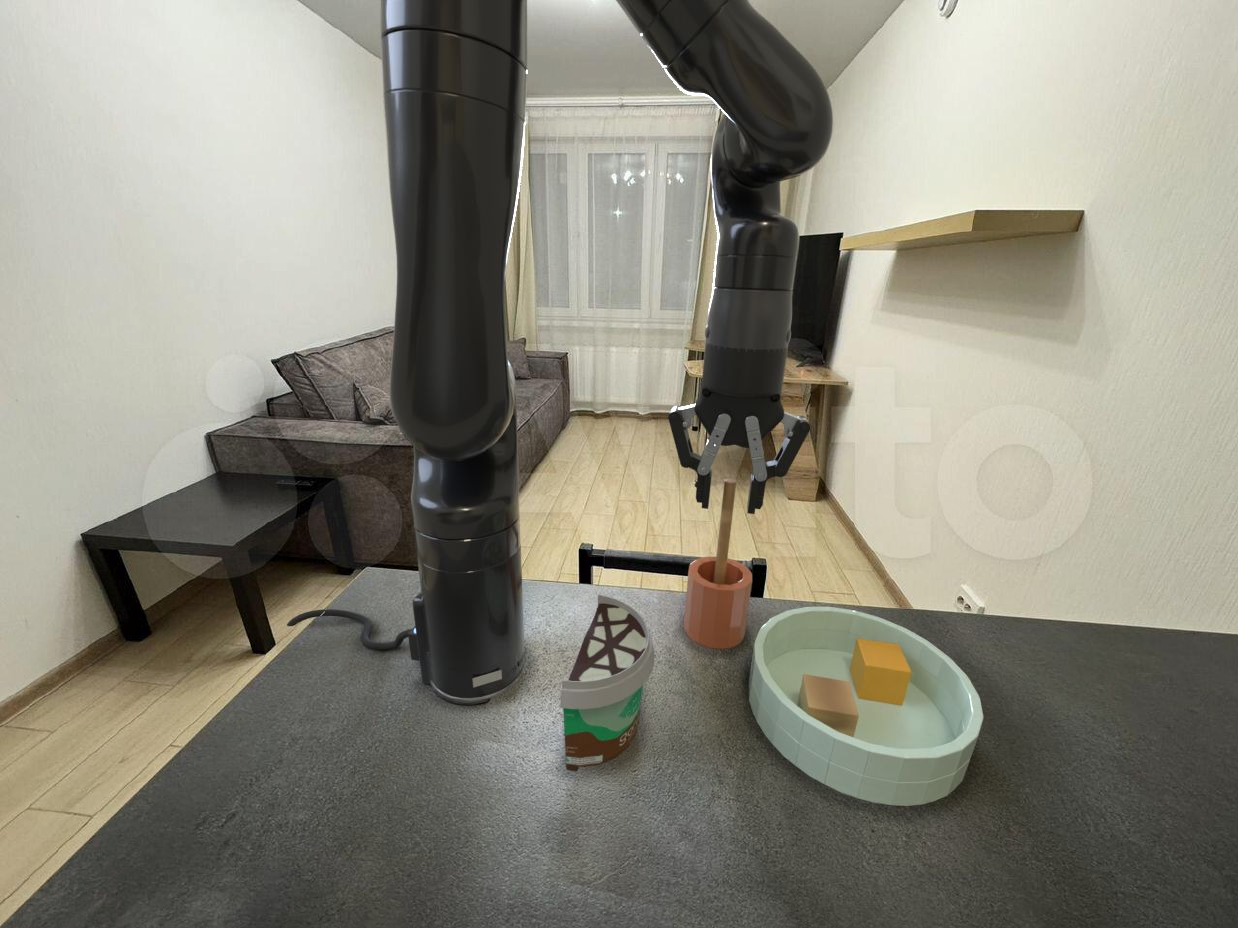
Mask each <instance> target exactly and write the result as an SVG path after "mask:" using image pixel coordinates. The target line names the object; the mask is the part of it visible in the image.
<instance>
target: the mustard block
mask: <svg viewBox="0 0 1238 928" xmlns="http://www.w3.org/2000/svg"><path fill="white" fill-rule="evenodd" d="M850 673H851V676H852V679H853V683H854V686H855V689H856V693H857V696H858V698H859V699H865V700H871V701H877V702H883V703H889V704H895V705H901V706H902V705H903V702H904V698H905V695H906V691H907V688H908V684H909V680H910V677H911V673H912V672H911V670H910V667H909V665H908V663H907V661H906V659H905V656H904V654H903V652H902V650H901V648H900V646H899V644H892V643H885V642H879V641H872V640H865V639H858V638H857V640H856V644H855V648H854V653H853V657H852V662H851V666H850Z"/></svg>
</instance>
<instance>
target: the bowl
mask: <svg viewBox="0 0 1238 928" xmlns="http://www.w3.org/2000/svg"><path fill="white" fill-rule="evenodd" d="M857 638H858V639H865V640H872V641H879V642H885V643H892V644H899V646H900V648H901V650H902V652H903V654H904V656H905V659H906V661H907V663H908V665H909V667H910V670H911V672H912V673H911V677H910V680H909V684H908V688H907V691H906V695H905V698H904V702H903V705H902V706H901V705H895V704H889V703H883V702H877V701H871V700H865V699H859V698H858V696H857V693H856V689H855V686H854V683H853V679H852V676H851V673H850V666H851V662H852V657H853V653H854V648H855V644H856V640H857ZM803 674H806V675H812V676H818V677H824V678H830V679H836V680H842V681H848V682H850V686H851V690H852V693H853V697H854V700H855V704H856V707H857V711H858V714H859V718H858V722H857V726H856V730H855V734H854V738H853V737H851V736H848V735H845V734H843V733H840V732H838V731H836V730H834V729H832V728H831V727H829V726H827V725H825V724H823V723H822V722H820V721H818V720H816V719H815V718H813V717H811V716H809V715H808V714H807V713H805V712H804V711H803V710H802V709H801V708H799V707H798V706H797V704H798V698H799V693H800V688H801V683H802V677H803ZM748 703H749V705H750V708H751V711H752V714H753V716H754V718H755V721H756V723H757V725H758V726H759V728H760V730H762V733H763V735H764V736H765V737H766V738H767V739H768V741H769V742H770V743H771V744H772V746H773V747H774V748H775V749H776V750H777V751H778V752H779V753H780V754H781V755H782V756H783V757H784V758H786V759H787V760H788V761H789V762H790V763H791V764H792V765H794V766H795V767H796V768H798V769H799V770H801V771H802V772H803V773H805V774H806V775H807V776H809V777H810V778H812V779H814V780H816V781H817V782H819V783H820V784H822V785H825V786H827V787H828V788H831V789H833V790H834V791H837V792H839V793H842V794H844V795H847V796H849V797H852V798H855V799H858V800H861V801H866V802H870V803H873V804H881V805H886V806H898V807H899V806H901V807H910V806H921V805H926V804H929V803H933V802H935V801H938V800H941V799H943V798H946V797H947V796H949V794H951V793H952V792H953V791H954V790H955V789H956V788H957V787H958V786H959V785H960V784H961V783H963V781H964V778H965V775H966V772H967V770H968V767H969V764H970V762H971V758H972V755H973V753H974V750H975V747H976V744H977V740H978V739H979V735H980V732H981V729H982V726H983V722H984V718H985V717H984V713H983V707H982V701H981V698H980V695H979V693H978V691H977V690H976V688H975V686H974V685H973V683H972V682H971V679H970V677H969V676H968V675H967V674H966V673H965V672H964V671H963V670H962V669H961V668H960V667H959V665H958V664H957V663H956V662H955V661H954V660H953V659H952V658H951V657H950V656H949V655H947V654H946V653H944V652H943V651H942V650H940V649H939V648H938V647H936V646H935V645H934V644H933V643H931V642H930V641H928V640H927V639H925V638H924V637H922V636H920V635H918V634H917V633H915V632H913V631H912V630H909V629H908V628H906V627H903V626H902V625H899V624H897V623H894V622H892V621H889V620H887V619H884V618H882V617H879V616H877V615H873V614H869V613H866V612H862V611H858V610H854V609H848V608H841V607H834V606H803V607H799V608H793V609H788V610H785V611H783V612H780V613H779V614H777V615H774V616H772V617H771V618H769V620H768V621H766V623H764V624H763V625H762V626H761V628H760V629H759V631H758V633H757V636H756V638H755V640H754V642H753V650H752V656H751V664H750V670H749V677H748Z"/></svg>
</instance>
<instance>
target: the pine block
mask: <svg viewBox="0 0 1238 928" xmlns="http://www.w3.org/2000/svg"><path fill="white" fill-rule="evenodd" d="M797 706H798V707H799V708H801V709H802V710H803V711H804V712H805V713H807V714H808V715H809V716H811V717H813V718H815V719H816V720H818V721H820V722H822V723H823V724H825V725H827V726H829V727H831V728H832V729H834V730H836V731H838V732H840V733H843V734H845V735H848V736H851V737H853V738H854V734H855V730H856V726H857V722H858V718H859V714H858V711H857V707H856V704H855V700H854V697H853V693H852V690H851V686H850V682H848V681H842V680H836V679H830V678H824V677H818V676H812V675H806V674H803V677H802V683H801V688H800V693H799V698H798V704H797Z"/></svg>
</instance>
